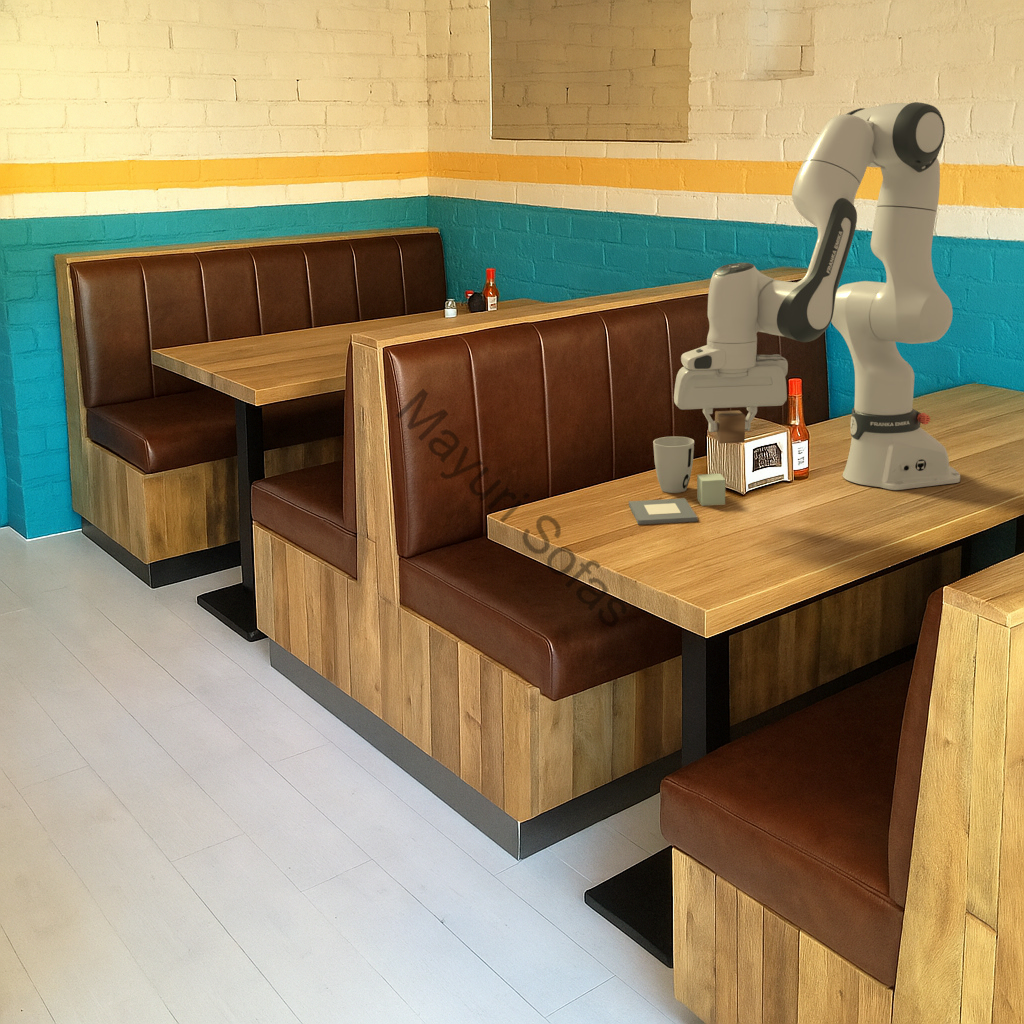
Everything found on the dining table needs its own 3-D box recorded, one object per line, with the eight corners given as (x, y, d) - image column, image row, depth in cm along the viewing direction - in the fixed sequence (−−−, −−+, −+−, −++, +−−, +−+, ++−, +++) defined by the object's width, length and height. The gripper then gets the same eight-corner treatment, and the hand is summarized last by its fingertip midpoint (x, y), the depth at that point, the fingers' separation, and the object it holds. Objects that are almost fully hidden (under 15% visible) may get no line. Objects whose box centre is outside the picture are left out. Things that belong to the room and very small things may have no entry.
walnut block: (738, 436, 211) (739, 410, 209) (744, 442, 207) (745, 415, 205) (714, 437, 211) (715, 411, 209) (720, 443, 206) (720, 416, 205)
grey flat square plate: (684, 502, 220) (684, 497, 220) (697, 521, 209) (697, 516, 209) (628, 505, 220) (628, 501, 220) (638, 524, 208) (638, 520, 208)
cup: (692, 495, 224) (693, 446, 221) (651, 494, 226) (651, 446, 223) (694, 483, 232) (695, 436, 229) (655, 483, 233) (654, 436, 230)
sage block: (719, 497, 222) (720, 473, 221) (725, 504, 218) (725, 479, 216) (697, 499, 222) (697, 474, 221) (701, 506, 218) (702, 481, 216)
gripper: (783, 351, 207) (780, 424, 212) (672, 355, 207) (671, 429, 211) (793, 356, 201) (790, 432, 206) (679, 361, 201) (678, 437, 205)
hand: (729, 430), depth 208 cm, fingers closed on walnut block, 4 cm apart
